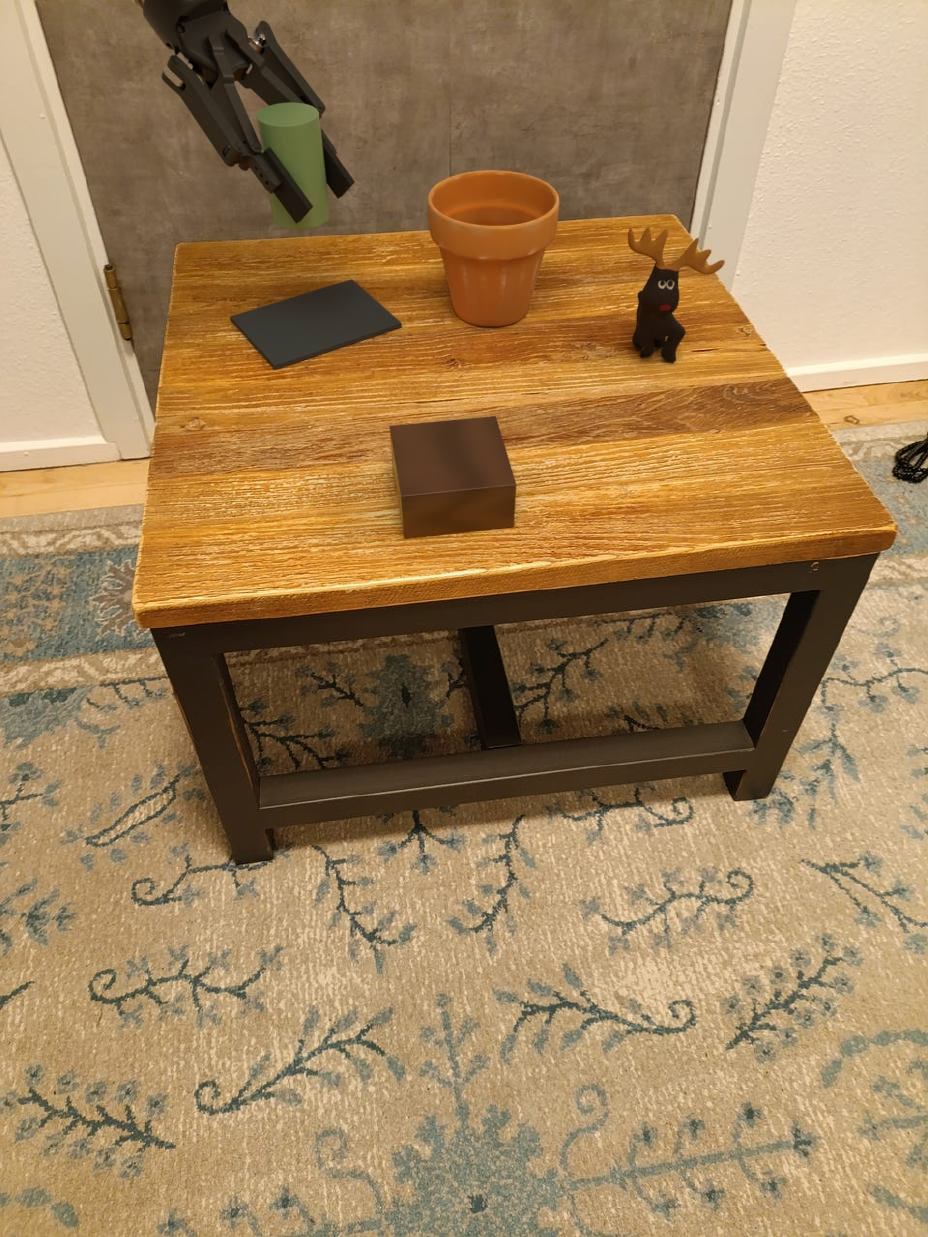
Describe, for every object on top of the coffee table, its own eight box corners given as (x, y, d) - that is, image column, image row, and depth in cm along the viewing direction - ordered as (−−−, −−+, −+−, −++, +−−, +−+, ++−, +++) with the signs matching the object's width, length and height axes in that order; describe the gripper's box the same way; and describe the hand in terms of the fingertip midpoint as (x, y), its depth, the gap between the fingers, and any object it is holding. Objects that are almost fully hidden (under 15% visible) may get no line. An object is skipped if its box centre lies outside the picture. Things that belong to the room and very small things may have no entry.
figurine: (612, 371, 97) (631, 236, 86) (604, 336, 102) (622, 203, 90) (709, 371, 97) (741, 236, 86) (697, 335, 102) (726, 202, 90)
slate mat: (274, 370, 97) (273, 365, 97) (230, 320, 104) (229, 316, 103) (401, 327, 103) (401, 322, 102) (352, 283, 109) (352, 278, 109)
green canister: (288, 235, 91) (272, 130, 84) (263, 212, 95) (246, 110, 87) (340, 220, 93) (329, 117, 86) (314, 199, 97) (301, 97, 89)
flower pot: (430, 278, 110) (427, 169, 100) (545, 277, 110) (553, 167, 101) (430, 341, 101) (427, 227, 91) (555, 339, 101) (565, 226, 91)
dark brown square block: (404, 538, 80) (401, 496, 76) (392, 468, 86) (389, 425, 82) (514, 527, 81) (516, 484, 77) (494, 457, 87) (495, 415, 83)
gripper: (225, -10, 93) (364, 188, 99) (82, 40, 82) (247, 258, 89) (254, -66, 87) (400, 149, 93) (104, -20, 76) (280, 218, 83)
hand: (325, 202), depth 91 cm, fingers closed on green canister, 6 cm apart
